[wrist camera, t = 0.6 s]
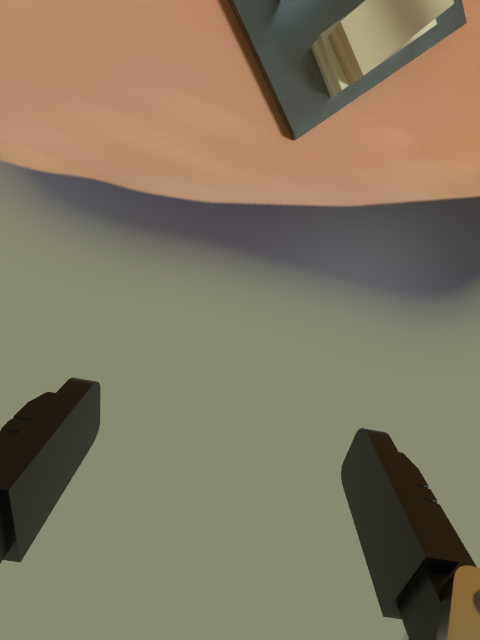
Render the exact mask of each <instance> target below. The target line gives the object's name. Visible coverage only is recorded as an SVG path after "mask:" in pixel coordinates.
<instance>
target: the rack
mask: <svg viewBox="0 0 480 640" xmlns="http://www.w3.org/2000/svg"><path fill="white" fill-rule="evenodd" d="M364 1H365V0H229V3H230V5H231V7H232V9H233V11H234V13H235V15H236V18H237V20H238V22H239V24H240V26H241V28H242V31H243V33H244V35H245V37H246V39H247V41H248V43H249V46H250V48H251V50H252V52H253V54H254V56H255V59H256V61H257V63H258V65H259V67H260V69H261V71H262V74H263V76H264V78H265V80H266V82H267V84H268V86H269V89H270V91H271V93H272V95H273V97H274V99H275V102H276V104H277V106H278V108H279V110H280V112H281V114H282V117H283V119H284V121H285V123H286V125H287V127H288V130H289V132H290V134H291V136H292V138H293V140H296V139H298V138H299V137H301V136H302V135H304V134H305V133H306V132H308V131H309V130H311V129H312V128H314V127H315V126H317V125H318V124H320V123H321V122H323V121H324V120H325V119H327V118H328V117H330V116H331V115H333V114H334V113H336V112H337V111H339V110H340V109H342V108H343V107H344V106H346V105H347V104H349V103H350V102H352V101H353V100H355V99H356V98H358V97H359V96H361V95H362V94H363V93H365V92H366V91H368V90H369V89H371V88H372V87H374V86H375V85H377V84H378V83H380V82H381V81H382V80H384V79H385V78H387V77H388V76H390V75H391V74H393V73H394V72H396V71H397V70H399V69H400V68H401V67H403V66H404V65H406V64H407V63H409V62H410V61H412V60H413V59H415V58H416V57H418V56H419V55H421V54H422V53H423V52H425V51H426V50H428V49H429V48H431V47H432V46H434V45H435V44H437V43H438V42H440V41H441V40H442V39H444V38H445V37H447V36H448V35H450V34H451V33H453V32H454V31H456V30H457V29H459V28H460V27H461V26H463V25H464V24H466V18H465V13H464V9H463V4H462V0H454V4H453V5H452V6H450V7H449V8H448V9H447V10H445V11H444V12H443V13H442V14H440V15H439V16H438V17H437V18H436V22H437V25H435V26H434V27H432V28H431V29H429V30H428V31H427V32H425V33H424V34H422V35H421V36H419V37H418V38H417V39H415V40H414V41H412V42H411V43H409V44H408V45H406V46H405V47H404V48H402V49H401V50H399V51H398V52H396V53H395V54H393V55H392V56H391V57H389V58H388V59H386V60H385V61H383V62H382V63H380V64H379V65H378V66H376V67H375V68H373V69H372V70H370V71H369V72H368V73H366V74H365V75H364V76H363V77H361V78H360V79H358V80H357V81H355V82H354V83H353V84H351V85H350V86H347V87H346V88H344V89H343V90H342V91H340V92H339V93H337V94H336V95H334V96H333V97H330V94H329V92H328V89H327V87H326V84H325V82H324V79H323V77H322V74H321V71H320V69H319V66H318V64H317V61H316V59H315V56H314V54H313V51H312V49H311V46H312V45H313V44H314V42H315V41H316V40H317V38H318V37H319V36H320V34H321V33H323V32H324V31H325V30H327V29H328V28H329V27H331V26H332V25H333V24H335V23H336V22H338V21H339V20H340V19H342V18H343V17H344V16H346V15H347V14H348V13H350V12H351V11H353V10H354V9H355V8H357V7H358V6H359V5H361V4H362V3H363V2H364Z"/></svg>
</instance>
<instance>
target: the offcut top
mask: <svg viewBox="0 0 480 640" xmlns="http://www.w3.org/2000/svg"><path fill="white" fill-rule="evenodd" d="M453 4H454V0H365V1H364V2H363V3H362V4H361V5H359V6H358V7H357V8H356V9H355V10H353V11H352V12H351V13H350V14H349V15H348V16H346V17H345V18H344V19H343V20H342V21H340V23H339V24H338V25H337V26H336V28H335V29H334V30H333V31H332V33H331V34H330V35H329V36H328V39H329V41H330V43H331V45H332V48H333V50H334V52H335V54H336V57H337V59H338V61H339V63H340V66H341V68H342V70H343V72H344V75H345V77H346V79H347V81H348V84H349V86H350V85H351V84H353V83H354V82H355V81H357V80H358V79H360V78H361V77H363V76H364V75H365V74H366V73H368V72H369V71H370V70H371V69H373V68H374V67H375V66H377V65H378V64H379V63H380V62H382V61H383V60H384V59H385V58H387V57H388V56H389V55H390V54H392V53H393V52H394V51H395V50H397V49H398V48H399V47H400V46H402V45H403V44H404V43H405V42H407V41H408V40H409V39H410V38H412V37H413V36H414V35H415V34H417V33H418V32H419V31H420V30H422V29H423V28H424V27H425V26H427V25H428V24H429V23H430V22H432V21H433V20H434V19H435V18H437V17H438V16H439V15H440V14H442V13H443V12H444V11H445V10H447V9H448V8H449V7H450V6H452V5H453Z"/></svg>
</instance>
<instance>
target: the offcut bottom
mask: <svg viewBox="0 0 480 640" xmlns="http://www.w3.org/2000/svg"><path fill="white" fill-rule="evenodd" d="M355 9H356V8H355ZM355 9H354V10H355ZM351 12H352V11H351ZM351 12H350V13H351ZM350 13H348V14H347V15H346V16H348V15H349V14H350ZM346 16H344V17H343V18H342V19H340V20H339V21H338V22H336V23H335V24H333V25H332V26H331V27H329V28H328V29H327V30H325V31H324V32H323V33H321V34H320V36H319V37H318V38H317V40H316V41H315V42H314V44H313V45H312V46H311V49H312V51H313V54H314V56H315V59H316V61H317V64H318V66H319V69H320V71H321V74H322V77H323V79H324V82H325V84H326V87H327V89H328V92H329V94H330V97H333V96H334V95H336V94H337V93H339V92H340V91H342V90H343V89H344V88H346V87H347V86H349V84H348V81H347V79H346V77H345V75H344V72H343V70H342V68H341V66H340V63H339V61H338V59H337V57H336V54H335V52H334V50H333V48H332V45H331V43H330V41H329V39H328V36H329V35H330V34H331V33H332V31H333V30H334V29H335V28H336V26H337V25H338V24H339V23H340V21H342V20H343V19H344V18H345V17H346ZM435 25H437V22H436V18H435V19H434V20H433V21H432V22H430V23H429V24H428V25H427V26H425V27H424V28H423V29H422V30H420V31H419V32H418V33H417V34H415V35H414V36H413V37H412V38H410V39H409V40H408V41H407V42H405V43H404V44H403V45H402V46H400V47H399V48H398V49H397V50H395V51H394V52H393V53H392V54H390V55H389V56H388V57H387V58H385V59H384V60H383V61H385V60H386V59H388V58H389V57H391V56H392V55H393V54H395V53H396V52H398V51H399V50H401V49H402V48H404V47H405V46H406V45H408V44H409V43H411V42H412V41H414V40H415V39H417V38H418V37H419V36H421V35H422V34H424V33H425V32H427V31H428V30H429V29H431V28H432V27H434V26H435ZM383 61H382V62H383ZM382 62H380V63H382ZM380 63H379V64H380ZM379 64H378V65H379ZM378 65H377V66H378ZM375 67H376V66H375ZM375 67H374V68H375ZM371 70H372V69H371Z"/></svg>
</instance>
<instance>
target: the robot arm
mask: <svg viewBox="0 0 480 640" xmlns="http://www.w3.org/2000/svg"><path fill="white" fill-rule="evenodd" d="M99 425H100V384H99V383H98V382H96V381H90V380H84V379H78V378H71V379H69V380H68V381H67V382H66V383H65V384H64V385H63V386H62V387H61V388H60V389H59V390H58V391H57V392H56V393H52V392H47V393H44V394H43V395H41V396H39V397H37V398H35V399H33V400H31V401H30V402H28V403H27V404H26V405H25V406H24V407H23V408H22V409H21V410H20V411H19V412H18V413H17V414H16V415H15V416H14V418H13V419H11V420H9V421H8V422H7V423H6V424H5V425H4V426H3V427H2V429H1V431H0V563H1V561H2V560H8V561H15V562H21V561H22V559H23V557H24V555H25V554H26V552H27V551H28V549H29V547H30V546H31V544H32V543H33V541H34V539H35V538H36V536H37V534H38V533H39V531H40V529H41V528H42V526H43V524H44V523H45V521H46V520H47V518H48V516H49V515H50V513H51V511H52V510H53V508H54V507H55V505H56V503H57V502H58V500H59V498H60V497H61V495H62V493H63V492H64V490H65V489H66V487H67V485H68V484H69V482H70V480H71V478H72V477H73V475H74V474H75V472H76V471H77V469H78V467H79V466H80V464H81V462H82V461H83V459H84V457H85V456H86V454H87V453H88V451H89V449H90V448H91V446H92V444H93V443H94V441H95V438H96V436H97V433H98V430H99ZM341 477H342V478H341V479H342V485H343V488H344V491H345V494H346V498H347V501H348V504H349V507H350V510H351V514H352V517H353V520H354V524H355V527H356V530H357V533H358V536H359V540H360V543H361V546H362V549H363V552H364V556H365V559H366V563H367V566H368V569H369V572H370V575H371V579H372V581H373V585H374V588H375V592H376V595H377V598H378V601H379V605H380V608H381V611H382V614H383V616H384V617H390V618H397V619H402V620H403V623H404V626H405V629H406V633H405V635H404V636H403V639H402V640H480V568H477V566H476V565H475V563H474V562H473V560H472V558H471V557H470V555H469V553H468V552H467V550H466V548H465V547H464V545H463V543H462V542H461V540H460V538H459V537H458V535H457V533H456V531H455V530H454V528H453V526H452V525H451V523H450V521H449V520H448V518H447V517H446V515H445V513H444V511H443V510H442V508H441V506H440V505H439V504H437V499H436V498H435V496H434V495H433V493H432V491H431V490H430V489H428V484H427V483H426V481H425V480H424V478H423V476H422V474H421V473H420V471H419V469H418V468H417V467H416V466H415V465H414V464H413V463H412V462H411V461H410V460H409V459H408V458H407V457H406V456H405V455H404V454H403V453H400V452H398V451H397V449H396V447H395V445H394V443H393V441H392V440H391V438H390V436H389V435H388V434H387V433H385V432H380V431H375V430H368V429H363V428H361V429H359V430H358V431H357V433H356V435H355V437H354V440H353V442H352V444H351V446H350V448H349V451H348V453H347V455H346V458H345V460H344V462H343V465H342V471H341Z"/></svg>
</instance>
